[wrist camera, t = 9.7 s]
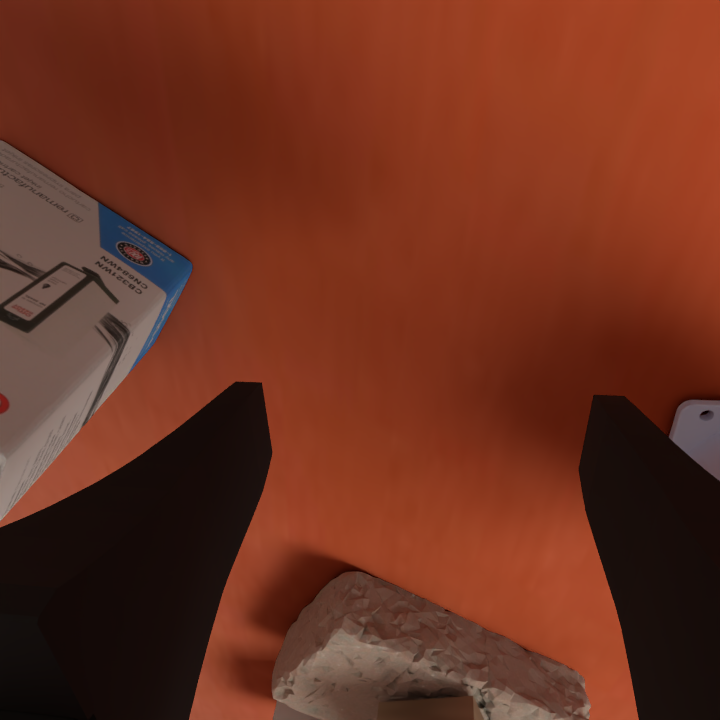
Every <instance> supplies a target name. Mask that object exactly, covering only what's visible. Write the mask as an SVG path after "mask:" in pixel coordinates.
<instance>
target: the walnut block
mask: <svg viewBox="0 0 720 720" xmlns="http://www.w3.org/2000/svg"><path fill="white" fill-rule="evenodd" d="M377 720H484V718H483V716H482V714H481V711H480V709H479V707H478V705H477V703H476V701H475V699H474V696H462V697H448V698H434V699H419V700H405V701H391V702H379V705H378V715H377Z"/></svg>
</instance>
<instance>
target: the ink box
mask: <svg viewBox="0 0 720 720" xmlns="http://www.w3.org/2000/svg"><path fill="white" fill-rule="evenodd" d="M192 268H193V266H192V263H191V262H190V261H189V260H187V259H186V258H184V257H183V256H181V255H179V254H178V253H176V252H175V251H173V250H172V249H170V248H169V247H167V246H166V245H164V244H163V243H161V242H159V241H158V240H156V239H155V238H153V237H152V236H150V235H149V234H147V233H145V232H144V231H142V230H141V229H139V228H138V227H136V226H135V225H133V224H131V223H130V222H128V221H127V220H125V219H124V218H122V217H121V216H119V215H118V214H116V213H114V212H113V211H111V210H110V209H108V208H107V207H105V206H104V205H102V204H100V203H99V202H97V201H96V200H94V199H93V198H91V197H89V196H88V195H86V194H85V193H83V192H81V191H80V190H78V189H77V188H75V187H74V186H73V185H71V184H69V183H68V182H66V181H65V180H63V179H62V178H60V177H59V176H57V175H56V174H54V173H53V172H51V171H49V170H48V169H46V168H45V167H43V166H42V165H40V164H39V163H37V162H35V161H34V160H32V159H31V158H29V157H28V156H26V155H25V154H23V153H22V152H20V151H18V150H17V149H15V148H14V147H12V146H11V145H9V144H7V143H6V142H4V141H2V140H0V521H1V520H2V519H3V518H4V516H5V515H6V514H7V513H8V512H9V511H10V510H11V508H12V507H13V506H14V505H15V504H16V503H17V502H18V501H19V499H20V498H21V497H22V496H23V495H24V494H25V493H26V492H27V490H28V489H29V488H30V487H31V486H32V485H33V484H34V483H35V481H36V480H37V479H38V478H39V477H40V476H41V475H42V473H43V472H44V471H45V470H46V469H47V468H48V467H49V466H50V464H51V463H52V462H53V461H54V460H55V459H56V457H57V456H58V455H59V454H60V453H61V452H62V451H63V449H64V448H65V447H66V446H67V445H68V443H69V442H70V441H71V440H72V439H73V438H74V436H75V435H76V434H77V433H78V432H79V431H80V429H81V428H82V427H83V426H84V425H85V424H86V423H87V422H88V421H89V419H90V418H91V417H92V416H93V414H94V413H95V412H96V411H97V410H98V408H99V407H100V406H101V405H102V404H103V403H104V402H105V400H106V399H107V398H108V397H109V396H110V395H111V394H112V392H113V391H114V390H115V389H116V388H117V387H118V386H119V384H120V383H121V382H122V381H123V380H124V378H125V377H126V376H127V375H128V374H129V373H130V371H131V370H132V369H133V368H134V367H135V366H136V364H137V363H138V362H139V361H140V360H141V359H142V357H143V356H144V355H145V354H146V353H147V352H148V350H149V349H150V348H151V347H152V346H153V344H154V343H155V341H156V339H157V337H158V336H159V334H160V332H161V330H162V328H163V326H164V325H165V323H166V321H167V319H168V317H169V315H170V314H171V312H172V310H173V308H174V306H175V304H176V302H177V300H178V299H179V297H180V295H181V293H182V291H183V289H184V287H185V285H186V283H187V281H188V278H189V276H190V274H191V272H192Z"/></svg>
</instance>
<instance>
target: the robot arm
mask: <svg viewBox="0 0 720 720" xmlns="http://www.w3.org/2000/svg"><path fill="white" fill-rule="evenodd" d="M706 410H710V411H709V412H708V413H707V414H705V415H700V414H701V413H702V412H703V411H706ZM271 457H272V446H271V440H270V433H269V427H268V420H267V414H266V407H265V401H264V394H263V388H262V383H257V382H235V383H233V384H232V385H231V386H229V387H228V388H227V389H226V390H224V391H223V392H222V393H221V394H219V395H218V396H217V397H216V398H214V399H213V400H212V401H211V402H210V403H208V404H207V405H206V406H205V407H204V408H202V409H201V410H200V411H199V412H197V413H196V414H195V415H194V416H192V417H191V418H190V419H189V420H187V421H186V422H185V423H184V424H182V425H181V426H180V427H179V428H177V429H176V430H175V431H173V432H172V433H171V434H169V435H168V436H166V437H165V438H164V439H162V440H161V441H159V442H158V443H157V444H155V445H154V446H153V447H151V448H150V449H148V450H147V451H146V452H144V453H143V454H141V455H140V456H138V457H137V458H135V459H134V460H132V461H131V462H129V463H128V464H126V465H125V466H123V467H121V468H120V469H118V470H116V471H115V472H113V473H111V474H110V475H108V476H106V477H105V478H103V479H101V480H100V481H98V482H96V483H94V484H92V485H91V486H89V487H87V488H85V489H83V490H81V491H79V492H77V493H75V494H73V495H71V496H69V497H67V498H65V499H63V500H61V501H59V502H57V503H55V504H53V505H51V506H49V507H47V508H45V509H43V510H40V511H38V512H36V513H34V514H32V515H29V516H27V517H25V518H22V519H20V520H18V521H15V522H13V523H10V524H8V525H5V526H3V527H1V528H0V720H189V716H190V712H191V708H192V704H193V700H194V696H195V692H196V687H197V683H198V679H199V675H200V672H201V668H202V664H203V660H204V657H205V653H206V649H207V645H208V642H209V638H210V634H211V631H212V627H213V624H214V620H215V617H216V613H217V610H218V607H219V603H220V600H221V596H222V593H223V590H224V587H225V585H226V582H227V579H228V576H229V573H230V571H231V569H232V566H233V564H234V561H235V559H236V556H237V554H238V551H239V549H240V547H241V544H242V542H243V539H244V537H245V534H246V532H247V529H248V527H249V525H250V522H251V520H252V517H253V515H254V512H255V510H256V507H257V505H258V502H259V500H260V497H261V494H262V492H263V488H264V485H265V481H266V477H267V473H268V469H269V465H270V461H271ZM579 475H580V481H581V487H582V493H583V499H584V504H585V510H586V514H587V517H588V520H589V524H590V527H591V530H592V533H593V537H594V540H595V543H596V546H597V549H598V553H599V556H600V559H601V562H602V565H603V568H604V571H605V575H606V578H607V581H608V584H609V587H610V590H611V594H612V597H613V600H614V603H615V606H616V610H617V614H618V617H619V621H620V625H621V629H622V634H623V639H624V644H625V649H626V654H627V659H628V664H629V668H630V673H631V679H632V684H633V690H634V695H635V701H636V706H637V712H638V717H639V720H720V401H715V400H688V401H685V402H683V403H682V404H681V405H679V407H678V409H677V411H676V415H675V418H674V421H673V425H672V428H671V431H670V435H669V437H668V436H667V435H665V434H664V433H663V432H662V431H661V430H660V429H659V428H658V427H657V426H656V425H655V424H654V423H653V422H652V421H651V420H649V419H648V418H647V417H646V416H645V415H644V414H643V413H642V412H641V411H640V410H639V409H638V408H637V407H636V406H635V405H634V404H632V403H631V402H630V401H629V400H628V399H627V398H626V397H625V396H608V395H594V396H593V401H592V406H591V411H590V416H589V420H588V425H587V430H586V435H585V440H584V445H583V450H582V455H581V460H580V464H579Z"/></svg>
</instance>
